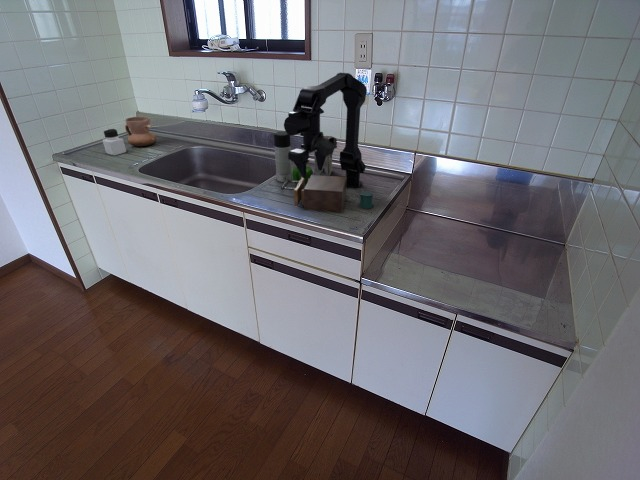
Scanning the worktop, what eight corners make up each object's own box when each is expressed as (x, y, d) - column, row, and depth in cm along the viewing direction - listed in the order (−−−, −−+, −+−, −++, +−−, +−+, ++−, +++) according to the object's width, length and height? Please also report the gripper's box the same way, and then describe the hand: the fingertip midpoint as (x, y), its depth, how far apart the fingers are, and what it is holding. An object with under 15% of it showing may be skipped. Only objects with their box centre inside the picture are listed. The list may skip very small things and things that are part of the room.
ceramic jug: (165, 142, 208) (159, 116, 201) (145, 150, 197) (138, 122, 190) (140, 139, 214) (134, 114, 207) (120, 146, 203) (112, 119, 196)
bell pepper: (316, 184, 155) (316, 161, 150) (308, 191, 148) (307, 167, 143) (298, 181, 158) (297, 158, 153) (289, 188, 151) (288, 164, 146)
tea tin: (360, 202, 139) (360, 190, 136) (372, 203, 138) (373, 191, 135) (358, 208, 135) (359, 195, 132) (372, 209, 134) (373, 196, 131)
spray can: (295, 178, 161) (293, 131, 150) (287, 183, 155) (284, 136, 145) (281, 175, 163) (278, 130, 153) (273, 181, 158) (270, 134, 148)
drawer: (279, 205, 135) (278, 189, 132) (288, 191, 146) (287, 176, 143) (328, 208, 132) (328, 192, 129) (333, 194, 143) (334, 179, 140)
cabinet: (304, 209, 134) (303, 189, 130) (311, 194, 146) (311, 174, 142) (341, 212, 132) (342, 191, 128) (346, 196, 144) (346, 177, 139)
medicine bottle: (126, 152, 194) (120, 129, 188) (114, 155, 189) (107, 132, 182) (118, 150, 197) (112, 127, 191) (106, 153, 192) (99, 130, 186)
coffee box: (318, 170, 169) (318, 135, 161) (332, 171, 168) (332, 135, 160) (314, 177, 161) (313, 140, 153) (328, 178, 160) (329, 141, 152)
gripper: (313, 139, 111) (314, 187, 119) (347, 127, 124) (345, 171, 132) (285, 133, 117) (288, 180, 125) (320, 122, 130) (321, 165, 138)
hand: (312, 174), depth 130 cm, fingers open, 9 cm apart
